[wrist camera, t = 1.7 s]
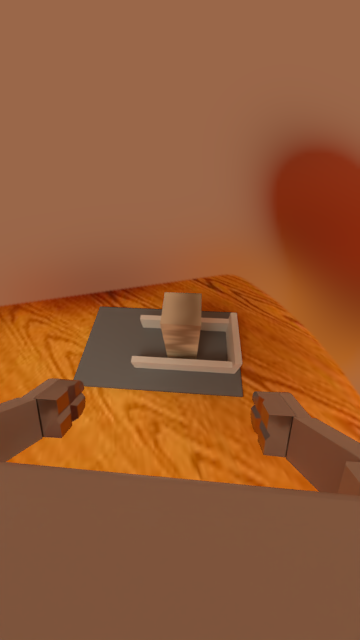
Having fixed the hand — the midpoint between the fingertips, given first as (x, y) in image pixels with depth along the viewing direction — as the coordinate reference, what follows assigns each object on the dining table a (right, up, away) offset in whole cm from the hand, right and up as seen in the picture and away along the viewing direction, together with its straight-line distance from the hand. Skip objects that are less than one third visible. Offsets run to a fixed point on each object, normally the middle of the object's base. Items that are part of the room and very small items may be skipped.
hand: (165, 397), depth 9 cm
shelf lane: (-3, -1, +26) cm, 26 cm away
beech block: (+1, -1, +25) cm, 25 cm away
